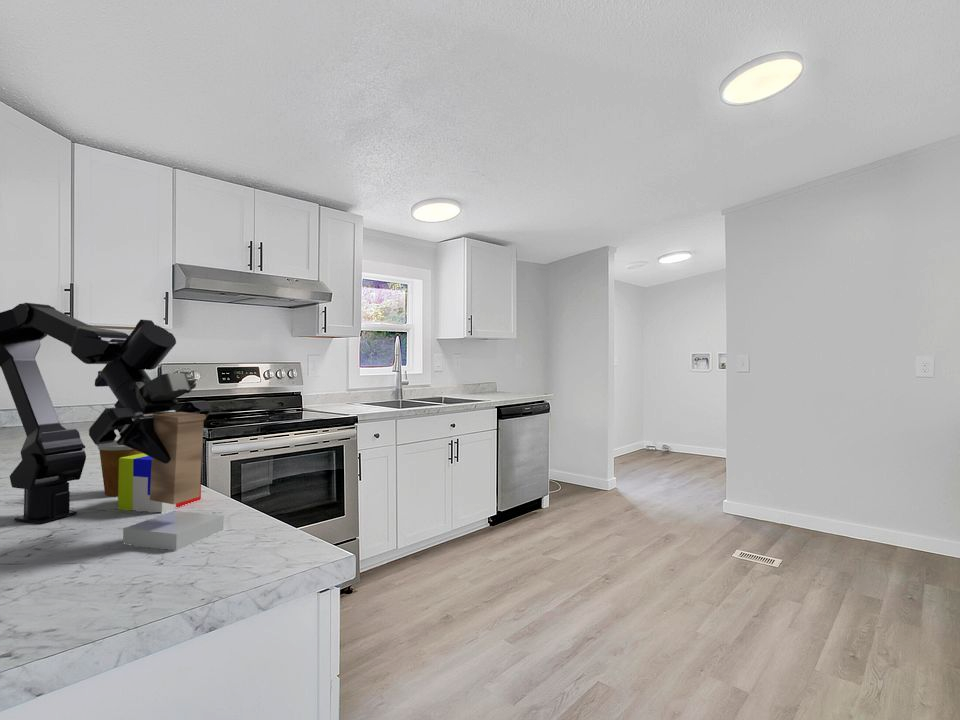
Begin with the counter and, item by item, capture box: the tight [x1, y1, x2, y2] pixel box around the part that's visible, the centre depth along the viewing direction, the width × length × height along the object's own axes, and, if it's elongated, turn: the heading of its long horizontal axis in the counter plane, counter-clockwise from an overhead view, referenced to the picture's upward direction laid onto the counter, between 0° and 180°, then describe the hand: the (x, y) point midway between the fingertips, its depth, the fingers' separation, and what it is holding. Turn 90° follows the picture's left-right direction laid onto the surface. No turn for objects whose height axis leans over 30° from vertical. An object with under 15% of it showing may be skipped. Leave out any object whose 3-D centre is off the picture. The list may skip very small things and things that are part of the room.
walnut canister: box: [150, 412, 207, 504], centre depth 84 cm, size 5×5×14 cm
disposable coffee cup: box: [96, 434, 142, 497], centre depth 111 cm, size 10×10×12 cm
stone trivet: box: [122, 510, 225, 551], centre depth 84 cm, size 10×10×3 cm
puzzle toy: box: [117, 453, 202, 513], centre depth 103 cm, size 10×10×10 cm
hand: (182, 458), depth 84 cm, fingers closed on walnut canister, 5 cm apart
